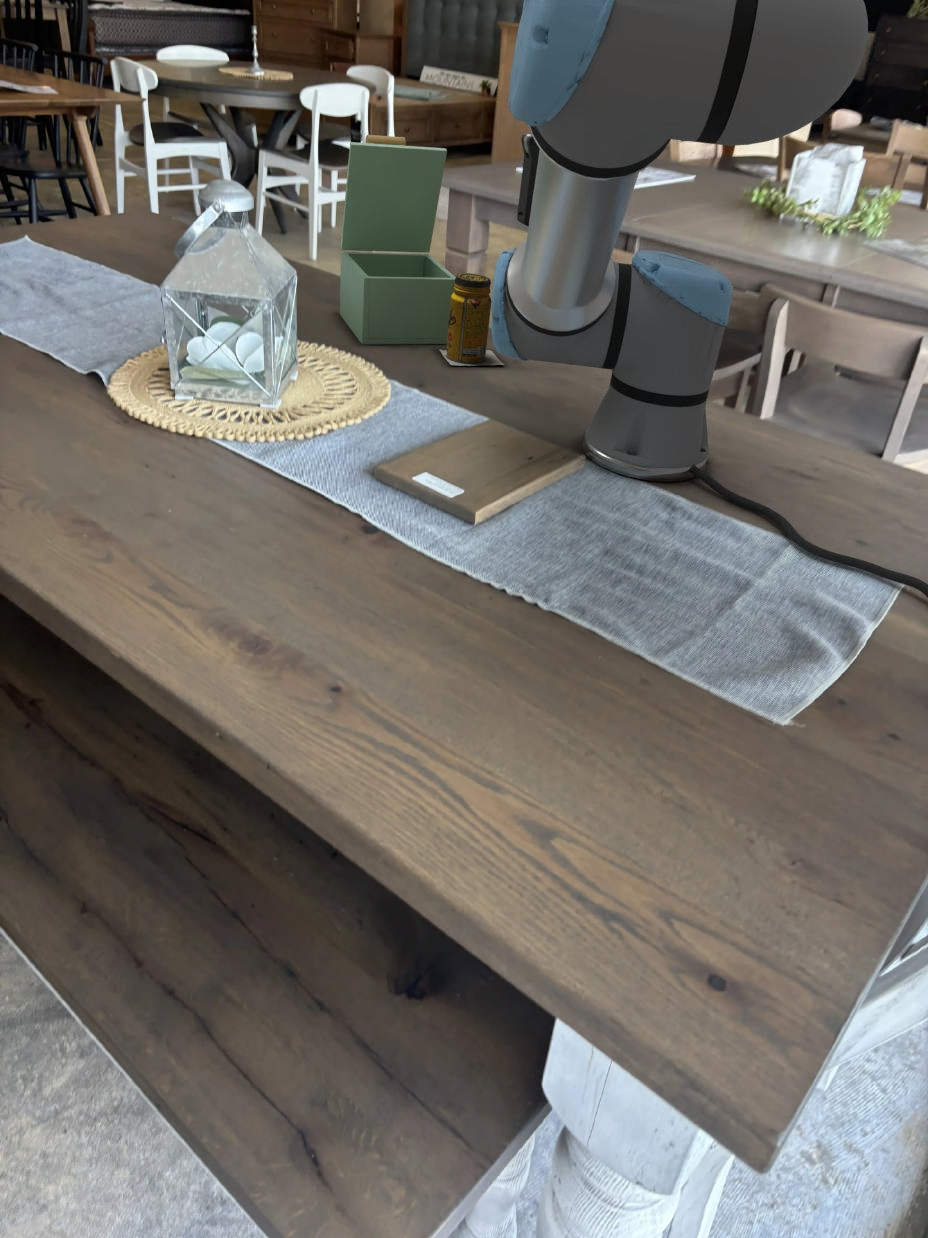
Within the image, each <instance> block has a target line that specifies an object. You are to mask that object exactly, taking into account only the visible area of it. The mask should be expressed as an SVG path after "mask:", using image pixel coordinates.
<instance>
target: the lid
mask: <svg viewBox="0 0 928 1238" xmlns="http://www.w3.org/2000/svg"><path fill="white" fill-rule="evenodd" d="M447 153H448V150H447V148H444V147H428V146H417V145H416V146H414V145H407V142H406V138H405V137H404V136H389V135H377V134H376V135H375V134H366V136H365V142H354V141H350V142H349V151H348V161H347V162H348V163H347V171H346V174H347V175H346V183H345V195H344V207H343V217H342V227H341V228H342V229H341V239H340V250H341V251H357V252H358V251H361V252H362V251H363V252H390V253H391V252H397V253H400V252H401V253H427V254H428V253H430V251H431V247H432V246H431V245H432V240H433V236H434V235H433V234H434V230H435V229H434V228H435V223H436V217H437V212H438V211H437V210H438V205H439V200H440V193H441V188H442V182H443V176H444V171H445V166H446V159H447Z"/></svg>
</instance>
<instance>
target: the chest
mask: <svg viewBox="0 0 928 1238" xmlns="http://www.w3.org/2000/svg"><path fill="white" fill-rule="evenodd" d="M339 277H340V279H339V281H340V282H339V284H340V285H339V315H340V317H341V318H342V320H343V321H344V323H345V324H346V325H347V326H348V328H349V329H350V330H351V331H352V333H353V335H354V336H355V337H356V338H357V340H358V342H359V343H360V344H361V345H447V337H448V326H449V315H450V304H451V303H450V301H451V295H452V294H453V293H454V291H455V290H454V287H455V278H456V276H455V275H454V274H453V273H451V272H450V271H449V270H448V269H447V268H445V267H444V266H443V265H442V264H441V263H440V262H438V261H437V260H436V259H435V258H434V257H432V256H431V255H430V254H428V253H424V254H423V253H398V252H397V253H391V252H358V251H357V252H354V251H353V252H350V251H341V252H340V275H339Z"/></svg>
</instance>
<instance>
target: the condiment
mask: <svg viewBox="0 0 928 1238" xmlns="http://www.w3.org/2000/svg"><path fill="white" fill-rule="evenodd" d="M455 277H456V278H455V287H454V290H455V291H454V293H453V294H452V295H451V301H450V303H451V304H450V315H449V326H448V337H447V344H446V349H438V350H439V352H440V353H441V355H442V357H443V358H444V359H445V360H446V361H447V362H448V364H449V365H450V366H459V367H460V366H462V367H463V366H466V367H467V366H468V367H472V366H473V367H474V366H475V367H476V366H498V365H499V366H505V363H503V362H502V361H501V360H500V359H499V358H498V357H497V356H496V354H495V353H494V352H493V351H492V349H487V347H488V337H489V329H490V327H489V326H490V318H491V312H492V310H491V307H492V297H491V296H490V293H491V285H492V281H491V278H489V277H488V276H486V275H482V274H478V273H471V272H467V273H466V272H465V273H459V274H457V275H456V276H455Z"/></svg>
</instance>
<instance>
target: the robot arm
mask: <svg viewBox="0 0 928 1238" xmlns="http://www.w3.org/2000/svg"><path fill="white" fill-rule="evenodd" d="M868 25H869V20H868V13H867V8H866V4H865V2H864V0H523V5H522V13H521V17H520V21H519V24H518V28H517V29H518V30H517V33H516V40H515V45H514V51H513V57H512V65H511V70H510V71H511V72H510V78H509V79H510V80H509V89H508V109H509V113H510V114H511V115H512V117H513V119H515V120H516V121H518V122H519V121H520V122H524V124H525V125H527V126H528V127H529V130H530V133H524V134H522V136H521V138H520V139H521V145H522V152H523V160H522V161H523V162H522V171H521V179H520V188H519V197H518V205H517V214H516V220H517V221H518V222H519V223H521V224H523V226H526V227H528V228H527V234H526V238H525V239H524V240H523V241H522V242H521V243H520V244H519V245H518V246H517V247H516V248H513V249H506V250H503V251H502V252H501V253H500V255H498V258H497V261H496V264H495V269H494V274H493V281H492V282H493V283H492V293H491V295H492V296H491V301H492V302H491V323H490V324H491V325H490V326H491V327H490V328H491V339H492V343H493V347H494V349H495V350H496V352H497V353H498V354H500V355H502V356H505V357H509V358H513V359H518V360H520V361H523V362H525V361H526V362H527V361H536V362H545V363H554V364H562V365H570V366H578V367H580V366H581V367H588V368H595V369H596V368H597V369H603V370H611V375H610V376H611V377H610V381H609V386H608V390H607V391H606V393H605V394H604V397H603V399H602V401H601V402H600V403H599V406H598V408H597V409H596V411H595V413H594V414H593V418H592V419H591V421H590V423H589V424H588V426H587V428H586V430H585V432H584V438H583V445H582V449H583V451H584V453H585V454H586V456H587V458H589V459H590V460H592V462H594V463H596V464H597V465H598V466H600V467H603V468H605V469H606V470H609V471H611V472H614V473H617V474H619V475H623V476H626V477H629V478H635V479H639V480H644V481H651V482H654V481H655V482H680V481H681V482H682V481H686V480H690V479H693V478H695V477H696V478H698V479H699V480H701V482H703V483H705V484H706V485H707V486H708V487H710V488H711V489H712V490H713V491H715V492H716V493H717V494H719V495H720V496H722V497H723V498H725V499H727V500H729V501H731V502H733V503H735V504H737V505H739V506H742V507H744V508H747V509H749V510H752V511H754V512H757V513H758V514H761V515H763V516H764V517H766V518H768V519H770V520H771V521H773V522H775V523H776V524H777V525H778V526H779V527H780V528H781V529H782V531H783V532H784V534H785V535H786V537H788V538H789V539H790V540H791V541H792V543H794V544H795V545H796V546H798V547H799V548H800V549H802V550H803V551H805V552H807V553H808V554H811V555H812V556H815V557H817V558H820V559H822V560H826V561H829V562H832V563H836V564H840V565H842V566H843V565H844V566H847V567H851V568H854V569H858V570H861V571H865V572H867V573H870V574H872V575H876V576H878V577H880V578H882V579H886V580H889V581H892V582H896V583H899V584H903V585H906V586H909V587H912V588H914V589H916V590H917V591H919V592H921V593H922V594H923V595H924V596H925V597H926V598H927V599H928V583H927V582H925V581H924V580H921V579H919V578H918V577H915V576H911V575H909V574H905V573H903V572H898V571H895V570H891V569H889V568H886V567H883V566H880V565H878V564H875V563H872V562H870V561H867V560H863V559H860V558H857V557H853V556H849V555H845V554H842V553H837V552H834V551H831V550H827V549H825V548H822V547H820V546H817V545H815V544H814V543H812V542H809V541H808V540H806V539H805V538H804V537H802V535H801V534H799V533H798V532H797V530H796V529H795V528H794V526H793V525H792V524H791V523H790V522H789V521H788V519H786V518H785V517H784V516H783V515H781V514H780V513H778V512H777V511H775V510H774V509H772V508H770V507H768V506H766V505H764V504H762V503H759V502H757V501H756V500H755V501H754V500H751V499H749V498H747V497H745V496H743V495H740V494H738V493H736V492H734V491H732V490H730V489H729V488H727V487H725V486H723V485H722V484H721V483H719V482H718V481H717V480H716V479H715V478H713V477H712V476H711V475H709V474H708V473H706V472H705V469H706V464H707V461H708V458H709V442H708V441H709V439H708V437H709V436H708V424H707V411H706V410H707V409H706V405H707V400H708V396H709V394H710V393H709V392H710V389H711V385H712V380H713V377H714V373H715V369H716V366H717V362H718V357H719V354H720V351H721V346H722V342H723V338H724V334H725V331H726V327H727V326H728V325H729V321H730V320H729V317H730V311H731V305H732V300H733V291H734V290H733V285H732V283H731V281H730V280H729V278H728V277H727V276H726V275H725V274H723V273H722V272H721V271H720V270H718V269H715V268H714V267H712V266H709V265H708V264H705V263H702V262H700V261H697V260H695V259H691V258H688V257H685V256H682V255H679V254H674V253H670V252H667V251H661V250H651V249H640V250H638V251H637V252H635V254H634V256H633V257H632V258H631V263H622V262H618V261H613V260H612V255H613V252H614V249H615V246H616V243H617V240H618V236H619V234H620V231H621V228H622V225H623V223H624V219H625V217H626V214H627V211H628V208H629V204H630V201H631V199H632V195H633V193H634V189H635V187H636V184H637V181H638V177H639V174H640V172H642V171H644V170H645V169H646V168H648V167H650V166H651V165H652V164H653V163H654V162H656V161H657V159H659V157H660V156H662V155H663V153H664V152H665V150H666V148H667V147H668V146H669V144H670V143H671V140H673V141H682V142H683V141H684V142H693V143H702V144H709V145H720V146H728V147H733V146H736V147H737V146H749V145H755V144H761V143H766V142H770V141H773V140H776V139H779V138H782V137H785V136H787V135H790V134H792V133H794V132H797V131H799V130H801V129H802V128H804V127H806V126H808V125H809V124H811V123H813V122H814V121H816V120H817V119H818V118H820V117H822V115H824V114H825V113H826V112H827V111H828V110H829V109H830V108H831V107H832V106H833V105H835V104H836V103H837V102H838V101H839V100H840V98H842V96H843V94H844V93H845V92H846V91H847V89H848V88H849V87H850V86H851V84H852V83H853V80H854V79H855V76H856V75H857V73H858V72H859V70H860V66H861V65H862V62H863V59H864V56H865V52H866V48H867V43H868V37H869V35H868V34H869V26H868Z"/></svg>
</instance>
